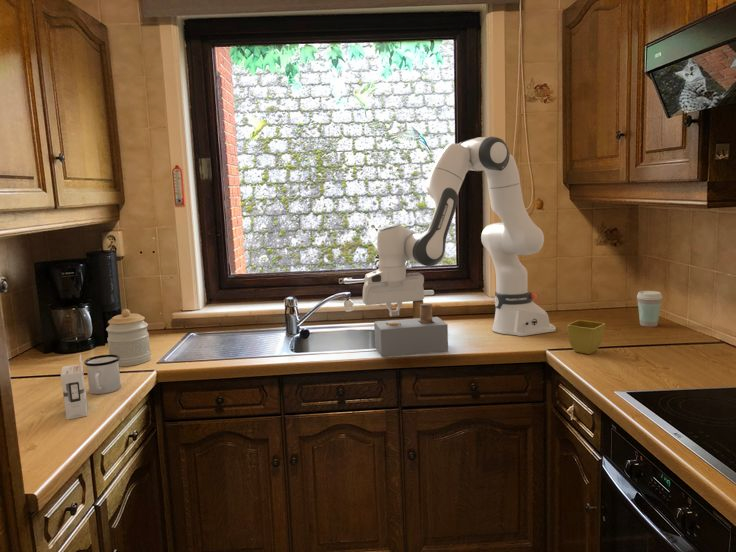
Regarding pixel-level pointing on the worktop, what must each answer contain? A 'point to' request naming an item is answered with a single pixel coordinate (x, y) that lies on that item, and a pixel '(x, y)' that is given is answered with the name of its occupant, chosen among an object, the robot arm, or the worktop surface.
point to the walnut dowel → (425, 313)
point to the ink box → (74, 391)
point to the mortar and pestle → (416, 308)
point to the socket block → (411, 337)
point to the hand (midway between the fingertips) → (394, 315)
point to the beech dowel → (394, 324)
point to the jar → (129, 338)
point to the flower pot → (585, 335)
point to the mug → (103, 374)
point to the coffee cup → (649, 307)
